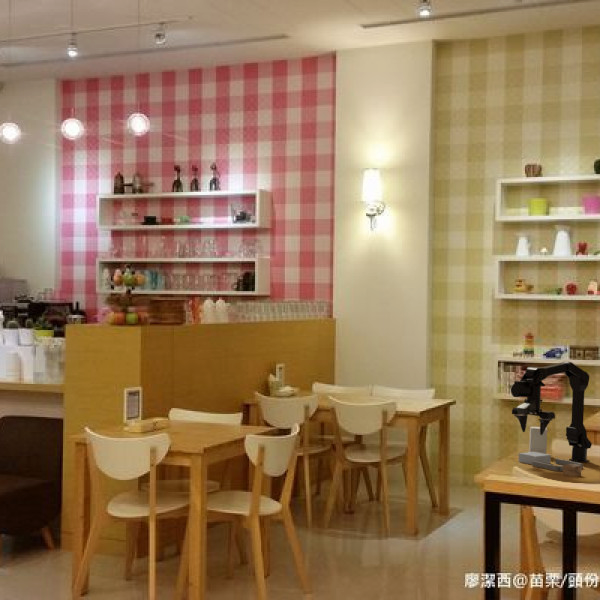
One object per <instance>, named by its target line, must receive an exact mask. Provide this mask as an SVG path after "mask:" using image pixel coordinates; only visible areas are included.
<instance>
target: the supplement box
mask: <svg viewBox="0 0 600 600" xmlns="http://www.w3.org/2000/svg"><path fill="white" fill-rule="evenodd" d="M528 445H529V446H528V447H529V448H528V452H538V453H543V454H547V450H548V449H547V445H548V428H547V427H546V429H545V431H544V433H543V435H540V426H529V444H528Z"/></svg>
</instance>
